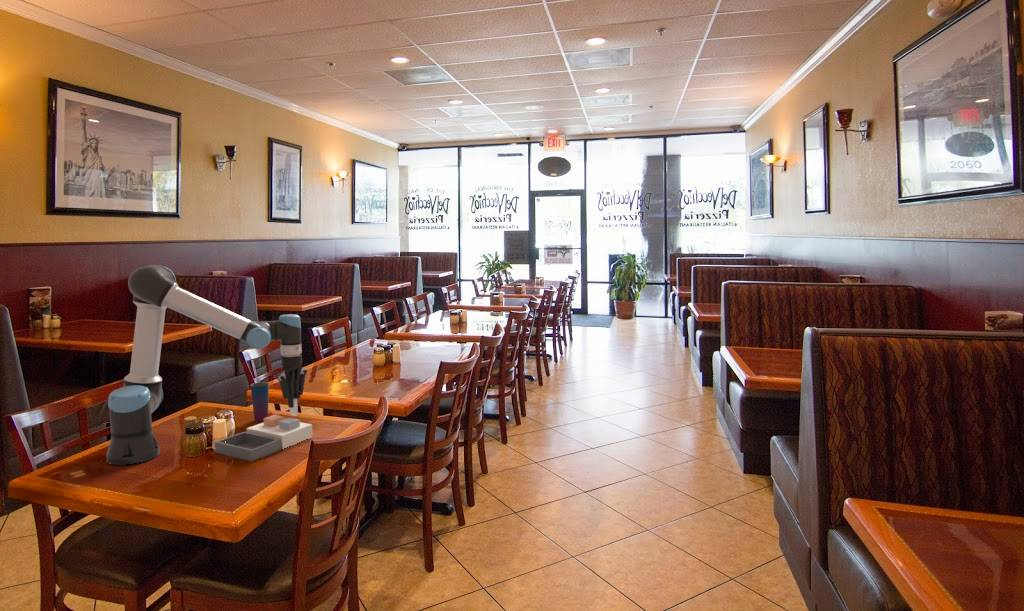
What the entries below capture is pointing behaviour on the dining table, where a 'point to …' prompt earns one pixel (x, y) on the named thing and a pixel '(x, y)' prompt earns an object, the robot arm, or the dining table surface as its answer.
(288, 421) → the slate tile
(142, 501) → the dining table surface
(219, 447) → the box
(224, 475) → the dining table surface
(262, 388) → the cup
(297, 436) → the raised board
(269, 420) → the terracotta tile
